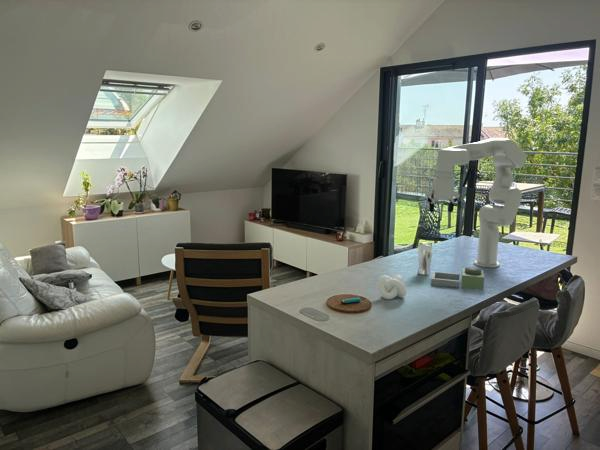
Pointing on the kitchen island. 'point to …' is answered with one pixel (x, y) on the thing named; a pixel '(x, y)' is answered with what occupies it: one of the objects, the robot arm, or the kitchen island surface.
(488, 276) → the kitchen island surface
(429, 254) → the beer glass
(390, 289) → the white knot sculpture
